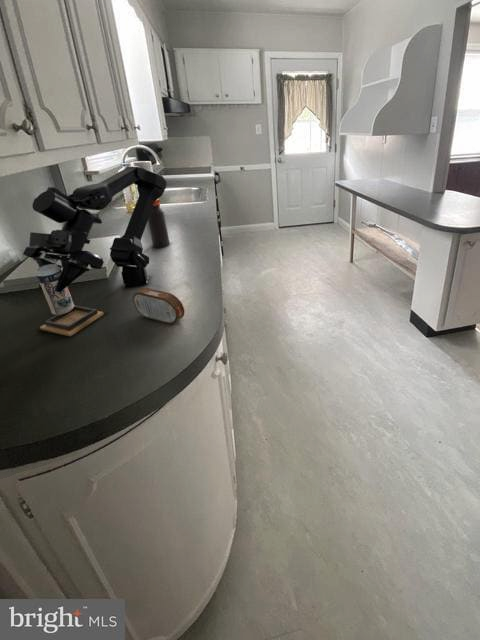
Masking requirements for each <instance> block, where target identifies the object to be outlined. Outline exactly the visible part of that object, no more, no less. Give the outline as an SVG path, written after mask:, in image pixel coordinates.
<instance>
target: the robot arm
mask: <svg viewBox="0 0 480 640" xmlns="http://www.w3.org/2000/svg"><path fill="white" fill-rule="evenodd" d="M131 185H136V189H137V190H136V191H137V193H138V197H137V200H136V202H135V205H134V208H133V211H132V212H131V216H130V218H129V221H128V223H127V226H126V229H125V232H124V234H123V235H121V237H115V238H113V240H112V245H111V246H110V247H109V250H110V251H109V257H110V259H111V261H112V262H113V263H114V265H116V267H117V268H121V272H120V274H121V278H122V282H123V284H124V288H126V289H128V288H134V287H140V286H147V284H148V282H149V277H150V276H149V275H148V272H147V266H149V264H150V257H149V256H148V255H146V254H145V253H143V249H144V247H143V244H142V238H143V235H144V232H145V230H146V227H147V225H148V219H149V216H150V213H151V210H152V207H153V205H154V202H155V201H156V200H157V199H160V198H161V197H162V196H163V194H164V192H165V191H166V189H167V181H166V179H165V177H164V175H162V174H158V173H155V172H153V171H150V170H147V169H145V168H144V167H143V166H142V167H141V166H139V165H127V166H126V167H125V168H124V169H122V170H120V171H118V172H116V173H115V174H113V175H111V176H109V177H107V178H106V179H104V180H102V181H100V182H98V183H92V184H86V185H83V186H80V187H76V188H75V189H74V190H73V191H72V193H71V194H68V195H67V194H65V193H63V192H62V191H61V190H60V189H59V188H57V187H54V186H52V187H51V186H48V187H47V189H46V190H45V191H43V192H41V193H40V194H38V195H37V197H35V198H34V199H33V201H32V210H33V211H34V212H35V213H38V214H40V215H42V216H43V217H46V218H47V219H50V220H51V221H53V222H54V223H55V222H56V223H57V224H63V225H62V228H61V229H56V230H55V229H52V230H51V232H50V233H44V232H32V231H31V232H30V233H29V242H28V246H26V247H25V249H24V251H23V252H22V255H23V256H26V257H28V258H31V259H33V261H35V262H36V263H37V265H38V268H39V267H42V266H45V265H49V264H56V265H58V267H60V268H61V270H62V273H61V275H60V278H59V281H58V284H57V287H56V291H57V292H61V291H63V290H64V289H65V288H66V287H68V286H69V285H71V284H72V283H73V282H75V280H76V279H78V278H79V277H81V276H82V275H83V274H85V273H86V272H89V271H90V268H91V269H95V270H101V269H102V268H103V265H104V263H105V262H104V259H103V257H102V256H99V255H97V254H95V253H93V252H91V251H89V250H83V249H84V247H85V245H86V244H87V245H90V243H91V239H90V238H88V237H89V235H90V232H91V230H92V229H93V228H92V227H93V225H94V224H98V225H101V224H103V221H102V219H101V217H100V215H99V213H92V212H91V211H103V210H105V209H106V208H107V207H108V206H109V205H110V204H111V203H112V201H113V198H114V196H116V195H117V194H119V193H121V192H122V191H124V190H125V189H127V188H129V187H130V186H131ZM58 261H60V263H61V264H58V263H57V262H58ZM89 267H90V268H89ZM38 289H39V290H41V291H43V290H42V287H41V285H40V283H39V282H38Z"/></svg>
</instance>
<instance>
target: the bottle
mask: <svg viewBox="0 0 480 640" xmlns="http://www.w3.org/2000/svg"><path fill="white" fill-rule="evenodd" d="M147 224H148V227H149V232H150V237H151V242H152V246H153V247H154V248H165V247H168V246H169V245H170V238H169V237H170V236H169V232H168V226H167V222H166V216H165V211H164V209H163V208H161V201H160V198H158V199H157V200H156V201H155V202H154V205H153V207H152V210H151V213H150V216H149V219H148V221H147Z"/></svg>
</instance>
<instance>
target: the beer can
mask: <svg viewBox="0 0 480 640" xmlns="http://www.w3.org/2000/svg"><path fill="white" fill-rule="evenodd" d="M56 264H57V263H56ZM56 264H49V265H45V266H42V267H39V266H38V268H37V269H36V272H35V275H36V278H37V281H38V284H39V283H40V285H41V287H42V290H41V291H42V292H43V296H44V297H45V299H46V302H47V305H48V307H49V309H50V313H51V314H52V315H60V314H65V313H67V312H69V311H71V310H72V309H73V308H74V305H75V304H74V301H73V298H72V295H71V293H70V290H69V287H68V286H67V287H66V288H65V289H64V290H63V291H61V292H57V291H56V287H57V284H58V281H59V278H60V275H61V273H62V270H63V269H62V268H60V267H58V265H59V264H58V265H56Z"/></svg>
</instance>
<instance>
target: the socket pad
mask: <svg viewBox="0 0 480 640" xmlns="http://www.w3.org/2000/svg"><path fill="white" fill-rule="evenodd" d="M104 315H105V314H104V311H100V310H97V308H91V307H86V306H80V305H76V304H74V308H73V309H72V310H71V311H69V312H67V313H65V314H60V315H57V314H54V315H53V316H52V317H50V318H48V319H46V320H44V324H42V325H41V326H40V327H39V330H40V331H44V332H49V333H53V334H56V335H57V334H58V335H62V336H67V337H72V336H73V335H75V334H76V333H78V332H79V331H81V330H83V329H84V328H85V327H87V326H89V325H90V324H92V323H93V322H95V321H96V320H98V319H99V318H101V317H102V316H104Z"/></svg>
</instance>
